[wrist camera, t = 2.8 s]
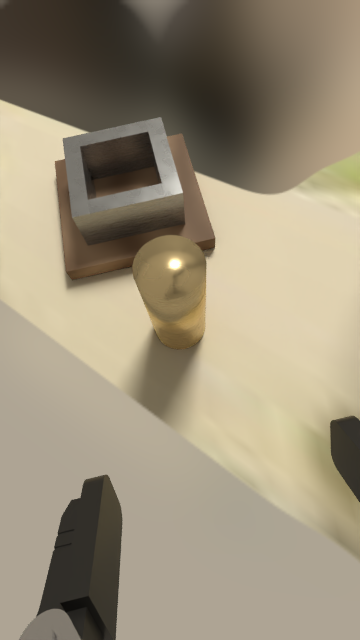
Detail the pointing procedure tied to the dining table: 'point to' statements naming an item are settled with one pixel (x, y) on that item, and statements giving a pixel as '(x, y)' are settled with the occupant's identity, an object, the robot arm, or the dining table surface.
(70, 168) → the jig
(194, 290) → the gold dome cylinder
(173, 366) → the dining table surface
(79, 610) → the robot arm
